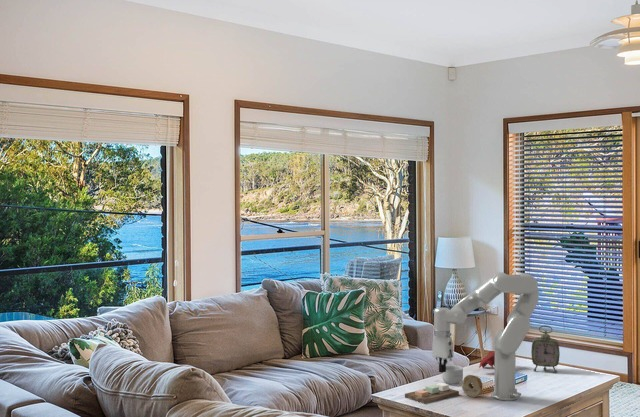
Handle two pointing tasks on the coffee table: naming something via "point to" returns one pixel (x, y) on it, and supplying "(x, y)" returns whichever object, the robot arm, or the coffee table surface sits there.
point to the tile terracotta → (421, 393)
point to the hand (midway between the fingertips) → (442, 371)
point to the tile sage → (432, 389)
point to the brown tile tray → (432, 396)
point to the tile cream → (443, 386)
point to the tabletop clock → (545, 351)
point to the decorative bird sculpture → (488, 360)
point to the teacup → (453, 374)
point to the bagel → (469, 388)
